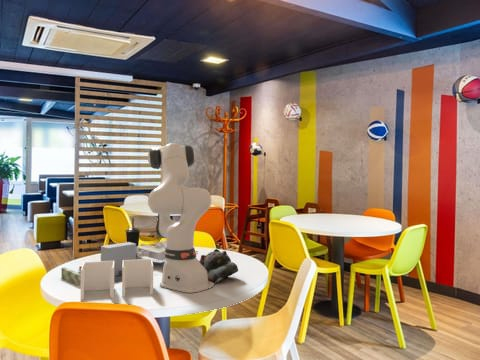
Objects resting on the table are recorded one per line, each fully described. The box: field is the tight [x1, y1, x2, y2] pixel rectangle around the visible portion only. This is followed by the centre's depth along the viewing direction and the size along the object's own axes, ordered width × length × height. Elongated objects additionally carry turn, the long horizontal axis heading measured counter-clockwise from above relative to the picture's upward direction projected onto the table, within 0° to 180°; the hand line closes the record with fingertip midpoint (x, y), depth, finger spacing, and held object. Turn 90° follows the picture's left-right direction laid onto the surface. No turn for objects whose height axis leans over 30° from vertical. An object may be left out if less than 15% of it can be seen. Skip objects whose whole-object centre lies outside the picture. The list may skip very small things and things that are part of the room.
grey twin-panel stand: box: [80, 258, 154, 301], centre depth 145 cm, size 25×11×11 cm, turn 106°
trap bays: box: [78, 265, 122, 283], centre depth 170 cm, size 28×9×2 cm, turn 48°
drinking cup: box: [124, 217, 141, 257], centre depth 205 cm, size 8×8×20 cm
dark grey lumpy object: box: [198, 248, 239, 284], centre depth 165 cm, size 15×12×14 cm
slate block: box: [100, 241, 137, 275], centre depth 175 cm, size 6×14×12 cm, turn 137°
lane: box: [61, 266, 122, 286], centre depth 168 cm, size 16×27×4 cm, turn 138°
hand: (138, 254), depth 182 cm, fingers closed
